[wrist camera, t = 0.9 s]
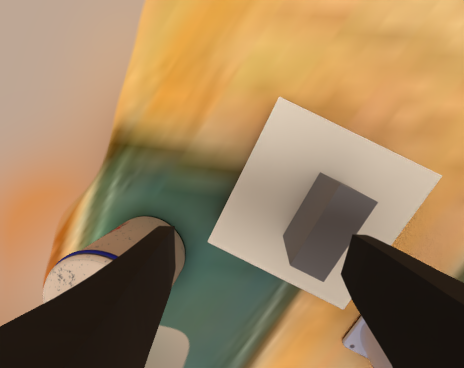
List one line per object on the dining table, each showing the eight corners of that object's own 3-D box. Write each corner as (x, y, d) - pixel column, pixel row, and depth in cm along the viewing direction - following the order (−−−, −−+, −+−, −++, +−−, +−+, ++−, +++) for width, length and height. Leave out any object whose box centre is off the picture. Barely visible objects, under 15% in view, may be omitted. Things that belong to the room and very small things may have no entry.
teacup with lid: (124, 200, 25) (12, 253, 14) (199, 231, 25) (148, 312, 13) (100, 285, 28) (-9, 388, 16) (167, 314, 27) (103, 439, 16)
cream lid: (429, 173, 17) (509, 189, 12) (338, 299, 20) (367, 359, 15) (277, 99, 17) (286, 81, 12) (210, 235, 21) (192, 271, 15)
